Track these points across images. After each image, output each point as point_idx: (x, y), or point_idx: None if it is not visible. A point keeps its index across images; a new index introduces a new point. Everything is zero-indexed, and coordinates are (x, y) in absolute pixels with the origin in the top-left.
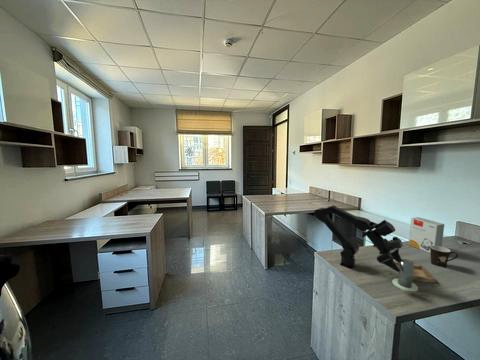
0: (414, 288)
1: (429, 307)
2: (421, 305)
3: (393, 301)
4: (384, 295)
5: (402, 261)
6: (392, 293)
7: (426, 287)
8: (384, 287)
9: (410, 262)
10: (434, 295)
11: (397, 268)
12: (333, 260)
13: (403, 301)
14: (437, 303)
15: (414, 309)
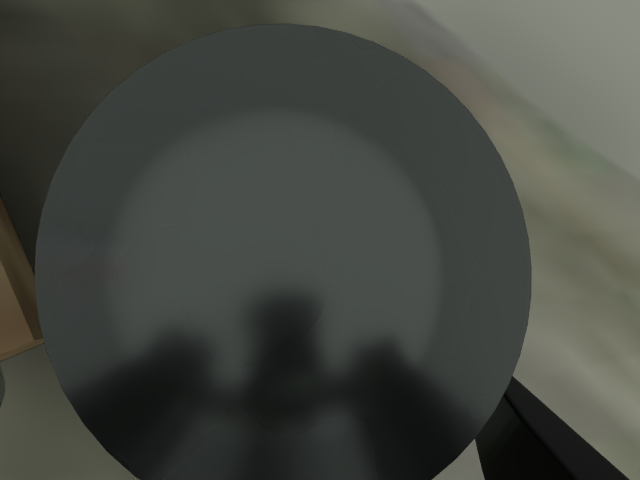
0: None
1: (499, 78)
2: (518, 133)
3: (635, 340)
4: (606, 430)
5: (417, 384)
6: (514, 374)
7: (94, 74)
8: (458, 473)
9: (289, 128)
10: (238, 17)
11: (568, 431)
12: None
13: (571, 267)
14: (381, 12)
15: (617, 182)
